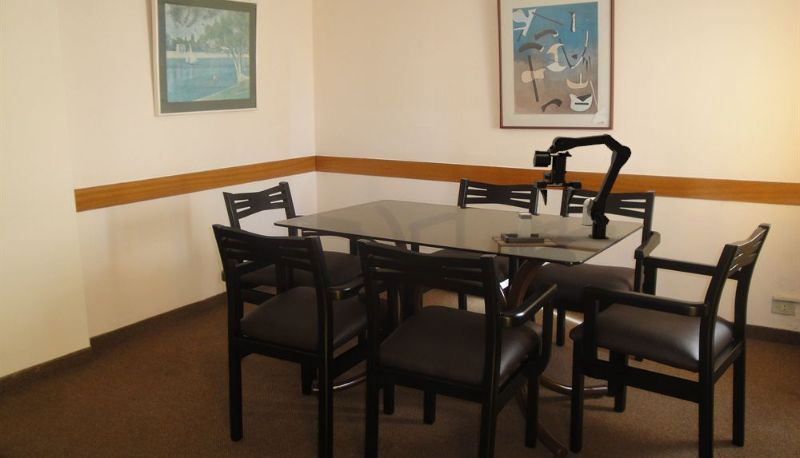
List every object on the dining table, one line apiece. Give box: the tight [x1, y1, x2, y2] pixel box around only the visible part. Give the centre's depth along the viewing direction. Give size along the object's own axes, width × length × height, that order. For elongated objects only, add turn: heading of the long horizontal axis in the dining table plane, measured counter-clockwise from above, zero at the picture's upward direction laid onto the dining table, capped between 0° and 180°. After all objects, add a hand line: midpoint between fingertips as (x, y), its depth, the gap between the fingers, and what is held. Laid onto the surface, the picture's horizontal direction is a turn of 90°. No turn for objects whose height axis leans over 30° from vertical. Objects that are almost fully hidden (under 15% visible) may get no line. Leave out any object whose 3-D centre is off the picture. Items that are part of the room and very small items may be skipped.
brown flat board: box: [491, 233, 557, 247], centre depth 282 cm, size 16×22×2 cm
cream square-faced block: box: [517, 212, 533, 238], centre depth 281 cm, size 5×4×11 cm
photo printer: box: [581, 196, 596, 226], centre depth 322 cm, size 10×4×12 cm, turn 123°
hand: (556, 205), depth 291 cm, fingers open, 9 cm apart
